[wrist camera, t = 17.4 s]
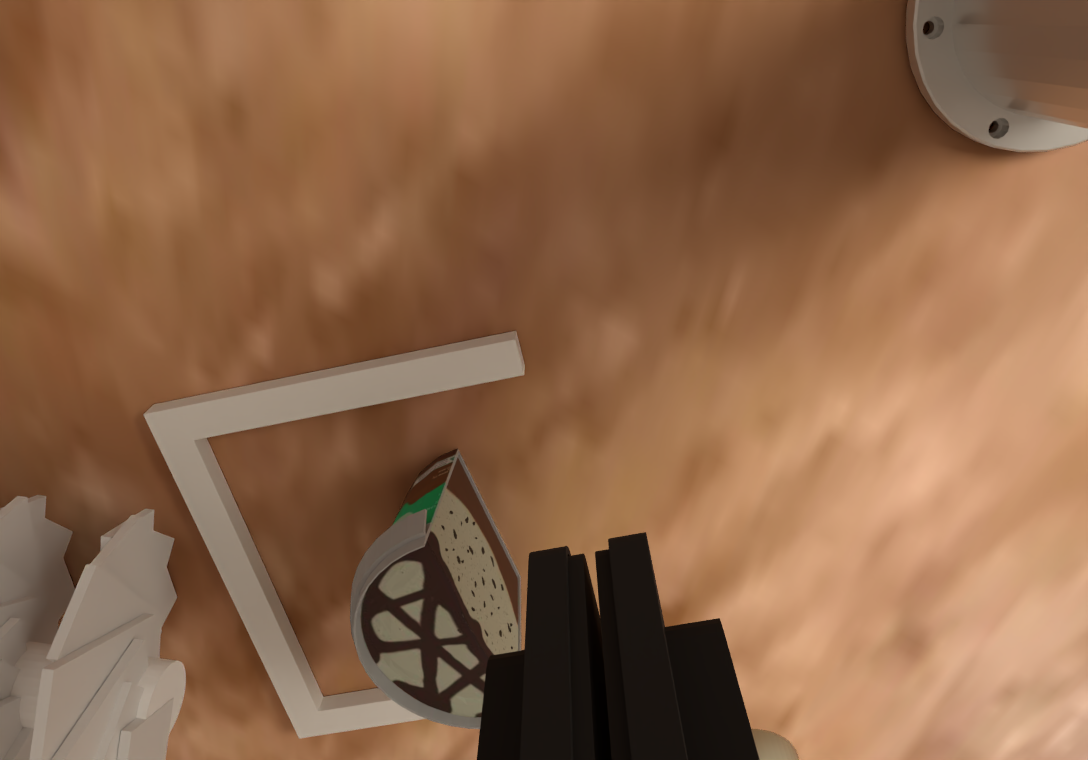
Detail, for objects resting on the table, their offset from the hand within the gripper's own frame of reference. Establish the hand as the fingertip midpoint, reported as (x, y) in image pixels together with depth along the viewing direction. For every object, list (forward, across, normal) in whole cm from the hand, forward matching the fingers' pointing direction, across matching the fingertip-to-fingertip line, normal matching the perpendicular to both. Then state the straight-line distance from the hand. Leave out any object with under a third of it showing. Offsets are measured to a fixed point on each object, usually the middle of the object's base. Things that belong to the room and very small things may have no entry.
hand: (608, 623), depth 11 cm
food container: (+29, +11, +17) cm, 36 cm away
